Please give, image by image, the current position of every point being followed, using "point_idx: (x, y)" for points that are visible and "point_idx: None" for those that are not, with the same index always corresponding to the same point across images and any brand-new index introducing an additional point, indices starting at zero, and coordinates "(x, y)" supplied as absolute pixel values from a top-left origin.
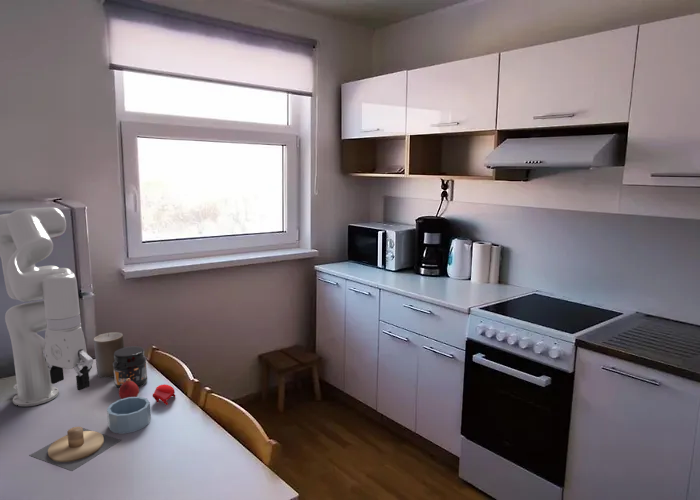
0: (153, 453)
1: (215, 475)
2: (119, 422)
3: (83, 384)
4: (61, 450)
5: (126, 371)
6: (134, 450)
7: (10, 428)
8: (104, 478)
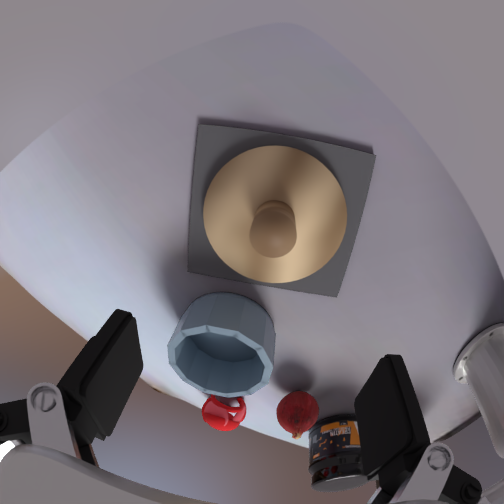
0: (98, 245)
1: (4, 219)
2: (206, 312)
3: (87, 344)
4: (291, 180)
5: (332, 449)
6: (136, 245)
7: (486, 257)
8: (117, 138)
